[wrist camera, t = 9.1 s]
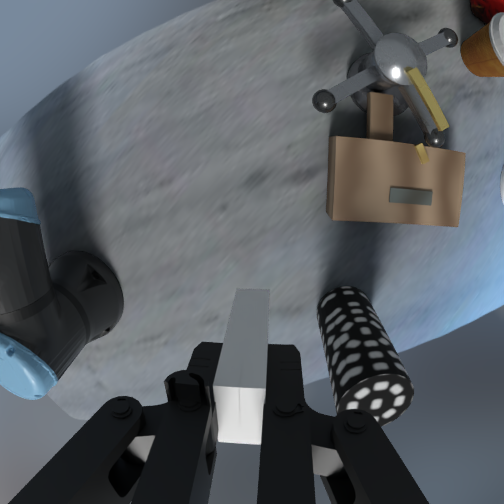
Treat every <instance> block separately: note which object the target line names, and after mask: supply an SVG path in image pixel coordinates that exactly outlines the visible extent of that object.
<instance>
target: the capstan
mask: <svg viewBox="0 0 504 504" xmlns="http://www.w3.org/2000/svg"><path fill="white" fill-rule="evenodd" d="M333 2H334V3H335V4H336V5H337V6H339V7H341V9H342V10H343V11H344V12H345V14H346V15H347V16H348V17H349V19H350V20H351V21H352V22H353V24H354V25H355V26H356V28H357V29H358V30H359V31H360V33H361V34H362V35H363V37H364V38H365V40H366V41H367V42H368V44H369V45H370V46H371V48H372V49H374V51H373V52H372V53H368V54H365V55H363V56H361V57H360V58H358V59H357V60H356V61H355V62H354V63H353V64H352V66H351V68H350V70H349V72H348V76H347V80H345V81H343V82H341V83H340V84H338V85H336V86H334V87H332V88H331V89H329V90H326V89H322V90H319V91H317V92H316V93H315V94H314V96H313V98H312V103H313V106H314V107H315V109H316V110H318V111H319V112H322V113H328V112H331V111H332V110H334V108H335V107H336V104H337V102H339V101H341V100H342V99H344V98H346V97H348V96H351V98H352V99H353V101H354V102H355V104H356V105H357V106H358V107H359V108H360V109H361V110H363V111H364V112H366V113H367V93H369V92H374V93H382V94H388V95H393V116H396V115H399V114H401V113H402V112H404V111H405V110H406V109H407V108H408V106H409V107H410V109H411V111H412V113H413V115H414V116H415V118H416V120H417V122H418V124H419V126H420V127H421V129H422V131H423V133H424V138H425V141H426V143H427V144H428V145H429V146H430V147H433V148H439V147H441V146H442V145H443V144H444V142H445V134H444V132H443V130H444V129H446V128H448V127H449V124H448V122H447V120H446V118H445V116H444V114H443V112H442V111H441V109H440V107H439V105H438V103H437V101H436V99H435V98H434V96H433V94H432V92H431V90H430V89H429V87H428V85H427V83H426V82H425V80H424V76H425V74H426V71H427V59H426V55H428V54H430V53H432V52H434V51H436V50H438V49H440V48H443V47H449V48H451V47H454V46H456V45H457V43H458V37H457V35H456V33H455V32H454V31H453V30H451V29H449V28H443V29H441V30H440V31H439V33H438V35H436V36H434V37H431V38H429V39H427V40H425V41H422V42H420V43H417V42H416V41H415V40H413V39H412V38H411V37H409V36H407V35H404V34H401V33H389V34H386V35H383V34H382V32H381V31H380V30H379V28H378V27H377V26H376V24H375V23H374V22H373V20H372V19H371V18H370V16H369V15H368V14H367V13H366V11H365V10H364V9H363V8H362V6H361V5H360V4H359V3H358V1H357V0H333Z"/></svg>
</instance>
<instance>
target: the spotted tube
mask: <svg viewBox="0 0 504 504" xmlns="http://www.w3.org/2000/svg"><path fill="white" fill-rule="evenodd" d="M317 319H318V324H319V328H320V333H321V338H322V342H323V347H324V352H325V356H326V361H327V366H328V371H329V376H330V381H331V386H332V391H333V396H334V401H335V407H336V412H337V415H338V414H339V413H340V412H342V411H344V410H347V409H360V410H364V411H366V412H368V413H370V414H371V415H372V416H373V417H374V418H375V419H376V420H377V422H378V423H379V425H380V427H381V426H384V425H386V424H388V423H390V422H392V421H394V420H395V419H397V418H398V417H399V416H401V414H403V413H404V412H405V411H406V410H407V408H408V407H409V405H410V404H411V402H412V399H413V396H414V388H413V385H412V383H411V381H410V379H409V376H408V374H407V372H406V370H405V368H404V366H403V364H402V362H401V360H400V358H399V356H398V354H397V352H396V350H395V348H394V346H393V344H392V343H391V341H390V339H389V337H388V335H387V333H386V331H385V329H384V327H383V325H382V323H381V322H380V320H379V318H378V316H377V314H376V312H375V310H374V309H373V307H372V305H371V303H370V301H369V299H368V298H367V296H366V295H365V294H364V293H363V292H362V291H361V290H359V289H357V288H355V287H350V286H344V287H339V288H335V289H333V290H331V291H330V292H328V293H327V294H326V295H325V296H324V297H323V298H322V299H321V301H320V302H319V305H318V307H317Z"/></svg>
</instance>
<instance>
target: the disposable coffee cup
mask: <svg viewBox="0 0 504 504" xmlns="http://www.w3.org/2000/svg"><path fill="white" fill-rule="evenodd" d="M461 56H462V59H463V62H464V64H465V65H466V67H467V68H468V69H469V70H470V71H471V72H472V73H473V74H475V75H477V76H480V77H504V12H500V13H497V14H496V15H494V16H493V18H492V20H491V22H489V23H488V24H487V25H485V26H484V27H483V28H481V29H480V30H479V31H477V32H476V33H475V34H473V35H472V36H471V37H469V38H468V39H467V40H465V41H464V42H463V43H462V46H461Z"/></svg>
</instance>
